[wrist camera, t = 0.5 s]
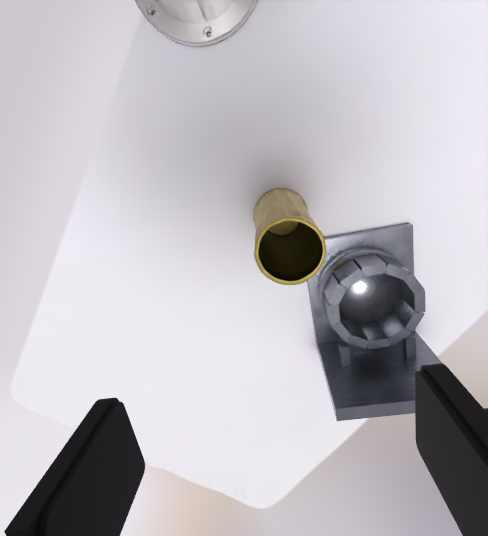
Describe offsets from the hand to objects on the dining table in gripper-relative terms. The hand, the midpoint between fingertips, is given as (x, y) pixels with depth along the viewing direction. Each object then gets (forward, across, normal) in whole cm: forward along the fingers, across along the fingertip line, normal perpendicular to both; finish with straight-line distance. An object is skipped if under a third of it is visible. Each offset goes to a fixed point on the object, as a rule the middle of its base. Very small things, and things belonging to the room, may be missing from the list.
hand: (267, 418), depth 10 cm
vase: (+29, -2, -2) cm, 29 cm away
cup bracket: (+29, -10, +8) cm, 32 cm away
